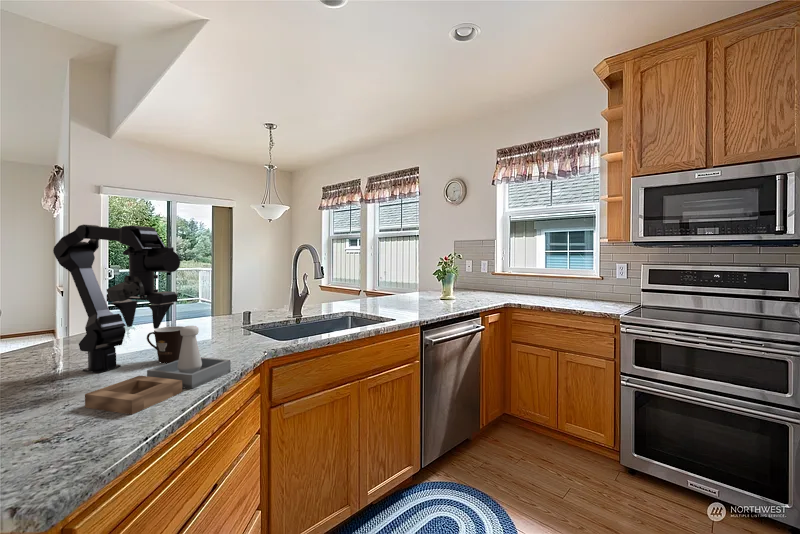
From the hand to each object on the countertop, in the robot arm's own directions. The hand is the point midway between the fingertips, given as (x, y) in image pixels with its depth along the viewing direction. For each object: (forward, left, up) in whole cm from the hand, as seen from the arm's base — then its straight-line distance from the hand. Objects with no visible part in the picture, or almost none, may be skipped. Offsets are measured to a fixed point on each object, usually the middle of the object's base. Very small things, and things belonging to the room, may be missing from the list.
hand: (142, 327), depth 105 cm
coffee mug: (-5, +13, -13) cm, 19 cm away
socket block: (+15, -15, -13) cm, 25 cm away
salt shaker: (+15, +1, -12) cm, 19 cm away
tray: (+15, +1, -13) cm, 20 cm away
